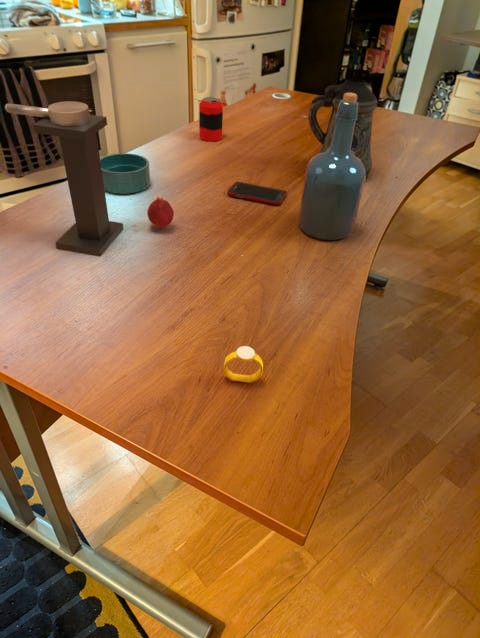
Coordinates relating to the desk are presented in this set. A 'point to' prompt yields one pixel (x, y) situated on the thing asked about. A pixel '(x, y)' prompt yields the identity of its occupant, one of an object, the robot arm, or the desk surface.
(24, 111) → the grey scoop
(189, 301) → the desk surface
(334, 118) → the beer stein
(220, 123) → the soda can
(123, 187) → the bowl
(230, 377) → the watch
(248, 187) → the cell phone
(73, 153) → the brown pedestal stand
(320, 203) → the wine bottle
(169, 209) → the onion
